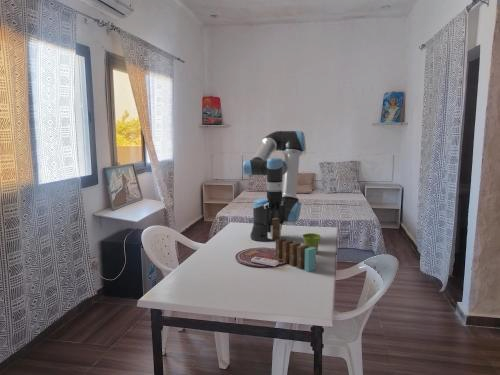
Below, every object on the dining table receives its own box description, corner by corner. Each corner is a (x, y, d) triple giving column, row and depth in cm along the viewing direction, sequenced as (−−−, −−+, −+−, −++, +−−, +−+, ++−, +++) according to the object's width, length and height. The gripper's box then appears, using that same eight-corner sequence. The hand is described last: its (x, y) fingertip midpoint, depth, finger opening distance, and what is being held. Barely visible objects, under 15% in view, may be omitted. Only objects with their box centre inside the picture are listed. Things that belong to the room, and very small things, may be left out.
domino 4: (289, 265, 174) (289, 244, 172) (296, 262, 177) (297, 242, 176) (293, 266, 172) (293, 245, 171) (300, 263, 176) (300, 243, 174)
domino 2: (275, 259, 181) (275, 239, 179) (282, 257, 184) (283, 237, 183) (278, 261, 179) (279, 240, 178) (286, 258, 182) (286, 238, 181)
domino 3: (282, 262, 177) (282, 242, 176) (289, 259, 181) (289, 239, 179) (285, 263, 176) (285, 243, 174) (293, 261, 179) (293, 240, 177)
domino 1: (269, 239, 183) (269, 219, 181) (276, 237, 186) (276, 217, 184) (272, 240, 181) (272, 220, 180) (279, 238, 184) (279, 218, 183)
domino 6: (304, 270, 167) (304, 249, 165) (311, 267, 170) (312, 246, 169) (308, 272, 165) (308, 250, 164) (315, 269, 169) (316, 247, 167)
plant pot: (319, 256, 186) (319, 239, 184) (300, 254, 189) (300, 237, 187) (321, 250, 194) (322, 234, 193) (303, 248, 198) (304, 232, 196)
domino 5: (296, 267, 170) (297, 246, 169) (304, 265, 174) (304, 244, 172) (300, 269, 169) (300, 247, 167) (307, 266, 172) (308, 245, 170)
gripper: (266, 193, 171) (266, 242, 175) (293, 189, 183) (292, 235, 186) (255, 191, 177) (255, 239, 180) (282, 187, 189) (281, 232, 192)
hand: (274, 237), depth 183 cm, fingers closed on domino 1, 5 cm apart
